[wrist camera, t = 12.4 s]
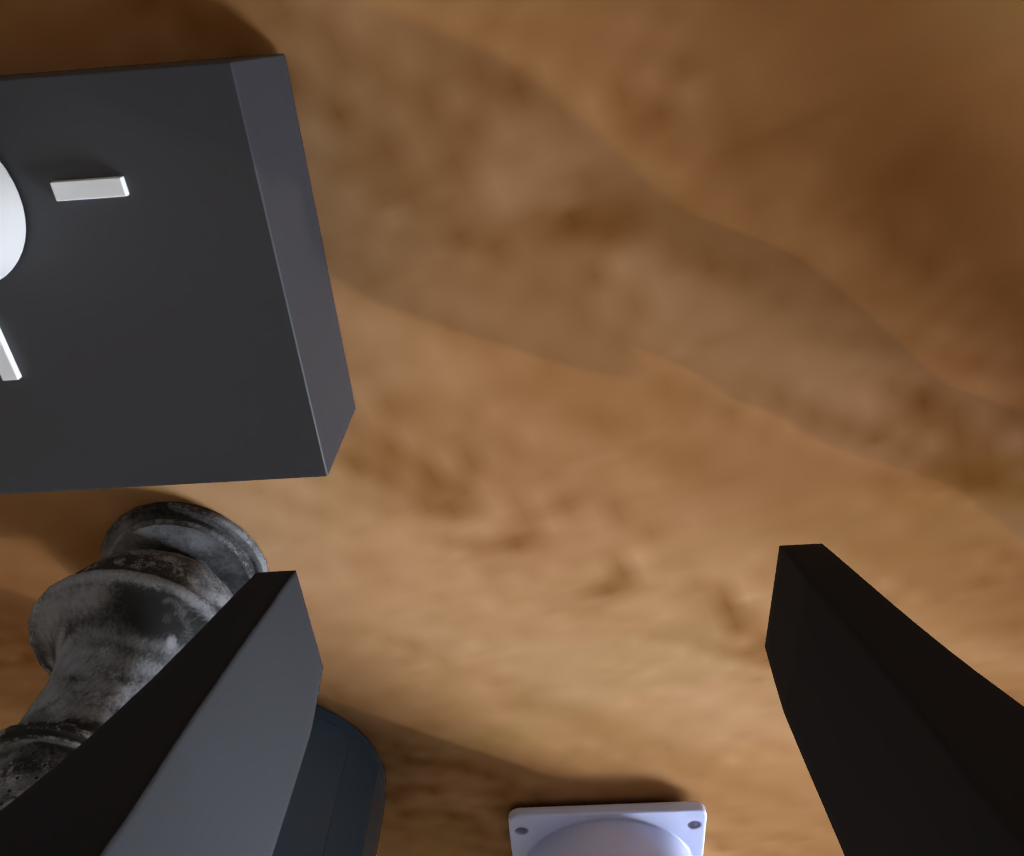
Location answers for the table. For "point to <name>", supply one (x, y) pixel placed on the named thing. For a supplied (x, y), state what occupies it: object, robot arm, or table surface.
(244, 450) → the console
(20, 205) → the console knob
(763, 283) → the table surface
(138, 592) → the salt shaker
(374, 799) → the pot
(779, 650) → the robot arm
